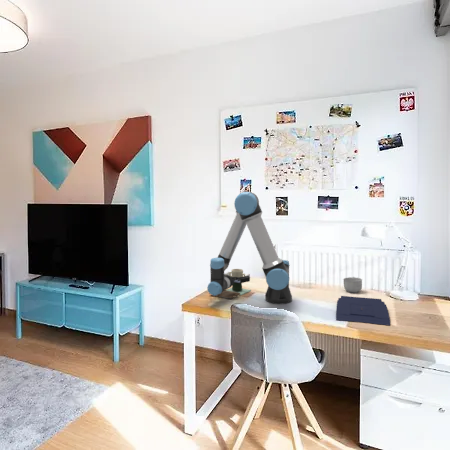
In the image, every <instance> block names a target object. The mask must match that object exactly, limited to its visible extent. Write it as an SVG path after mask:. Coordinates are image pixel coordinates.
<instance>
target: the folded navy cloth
mask: <svg viewBox="0 0 450 450" xmlns="http://www.w3.org/2000/svg"><path fill="white" fill-rule="evenodd" d="M335 320H336V321H343V322H344V321H346V322H357V323H366V324H367V323H368V324H374V325H375V324H376V325H385V326H391V319H390V315H389V311H388V307H387V304H386V303H385V301H383V300H382V298H375V297H373V298H372V297H360V296H348V295H340V297H338V299H337V301H336V310H335Z"/></svg>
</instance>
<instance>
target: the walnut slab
mask: <svg viewBox="0 0 450 450" xmlns="http://www.w3.org/2000/svg"><path fill="white" fill-rule="evenodd" d="M226 290H227V289H226ZM226 290H225V291H223V292H222V293H220V294H218V295H212V296H214V297H219V298H225V299H229V300H233V298H235V297H237V298H238V296H241V295H240V293H237V292H232V291H226ZM208 294H209V295H211V294H210V293H209V292H208Z"/></svg>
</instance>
